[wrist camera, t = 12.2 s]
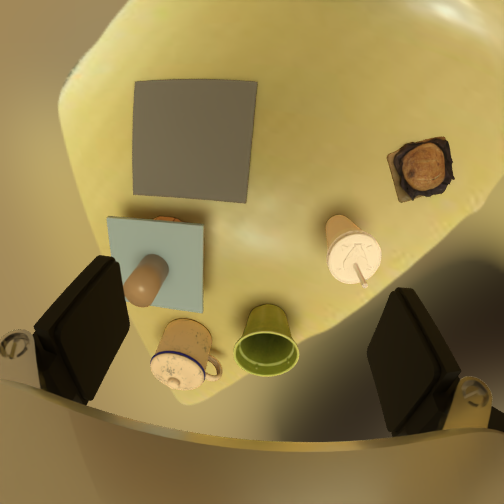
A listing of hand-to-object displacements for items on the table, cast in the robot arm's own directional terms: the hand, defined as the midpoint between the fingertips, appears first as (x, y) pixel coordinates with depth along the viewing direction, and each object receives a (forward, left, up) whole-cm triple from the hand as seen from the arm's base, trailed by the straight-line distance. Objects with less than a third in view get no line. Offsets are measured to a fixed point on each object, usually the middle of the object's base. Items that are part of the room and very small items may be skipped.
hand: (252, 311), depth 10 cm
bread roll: (-3, +22, -31) cm, 38 cm away
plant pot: (+25, +3, -31) cm, 40 cm away
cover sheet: (+14, -13, -25) cm, 31 cm away
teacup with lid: (+32, -9, -31) cm, 45 cm away
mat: (-2, -10, -30) cm, 32 cm away
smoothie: (+8, +11, -31) cm, 33 cm away
